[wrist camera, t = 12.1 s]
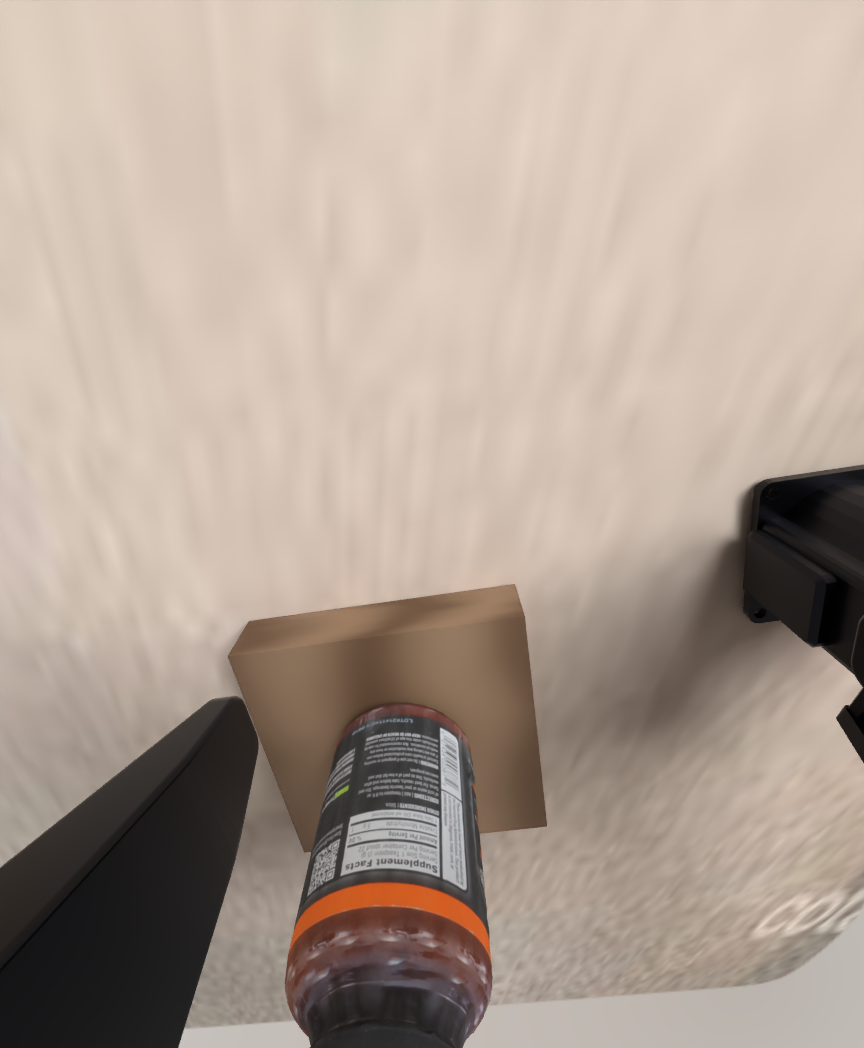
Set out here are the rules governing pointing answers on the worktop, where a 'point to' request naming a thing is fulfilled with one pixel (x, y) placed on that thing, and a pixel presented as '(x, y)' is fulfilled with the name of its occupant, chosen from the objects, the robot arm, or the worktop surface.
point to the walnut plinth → (397, 693)
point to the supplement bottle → (394, 891)
